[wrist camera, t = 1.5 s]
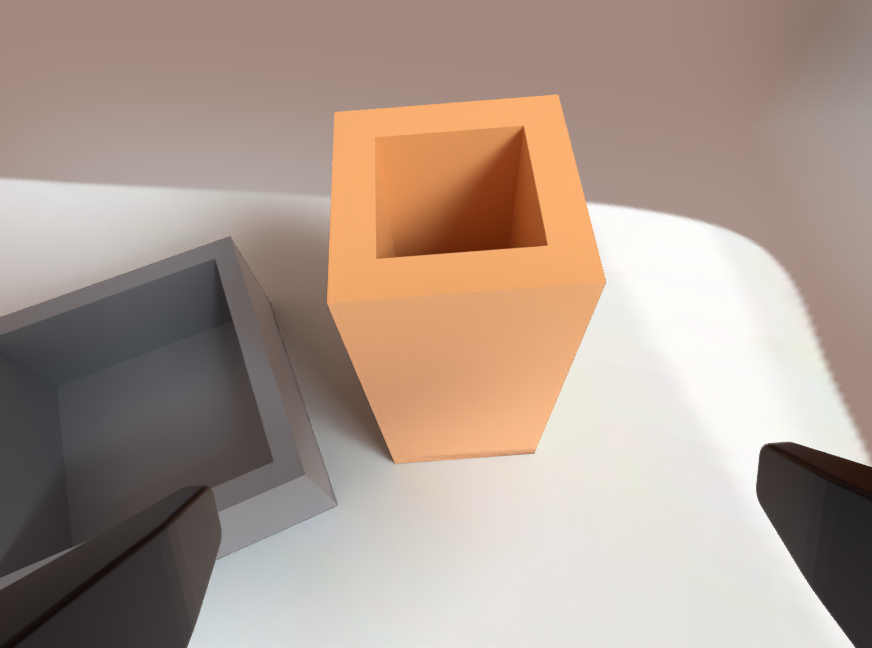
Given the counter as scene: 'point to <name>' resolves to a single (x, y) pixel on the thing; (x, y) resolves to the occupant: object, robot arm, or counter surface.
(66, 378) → the grey crate
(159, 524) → the robot arm
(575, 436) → the counter surface
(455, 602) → the counter surface
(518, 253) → the orange hollow square block
